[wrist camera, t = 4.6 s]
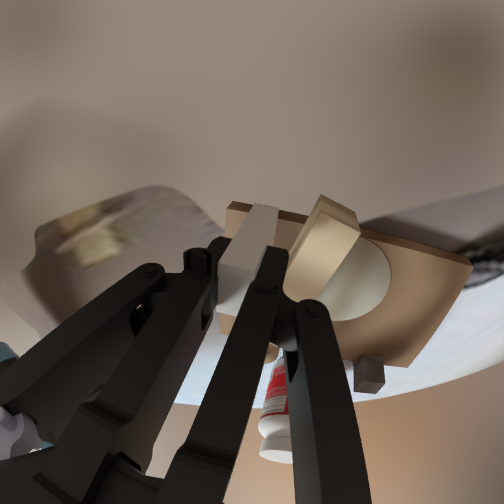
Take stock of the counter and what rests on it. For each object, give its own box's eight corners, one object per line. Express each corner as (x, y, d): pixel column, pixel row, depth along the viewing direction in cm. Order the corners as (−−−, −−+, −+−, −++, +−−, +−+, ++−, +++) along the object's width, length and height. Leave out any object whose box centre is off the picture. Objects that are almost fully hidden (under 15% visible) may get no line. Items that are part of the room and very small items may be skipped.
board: (224, 327, 27) (209, 361, 23) (232, 201, 20) (210, 228, 16) (402, 360, 25) (407, 395, 21) (467, 257, 17) (489, 291, 13)
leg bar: (273, 343, 24) (266, 374, 21) (237, 328, 24) (226, 358, 21) (362, 216, 16) (370, 242, 13) (313, 190, 16) (311, 212, 13)
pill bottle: (336, 374, 28) (328, 463, 19) (292, 386, 31) (276, 466, 22) (308, 345, 26) (293, 446, 17) (262, 361, 29) (237, 448, 20)
